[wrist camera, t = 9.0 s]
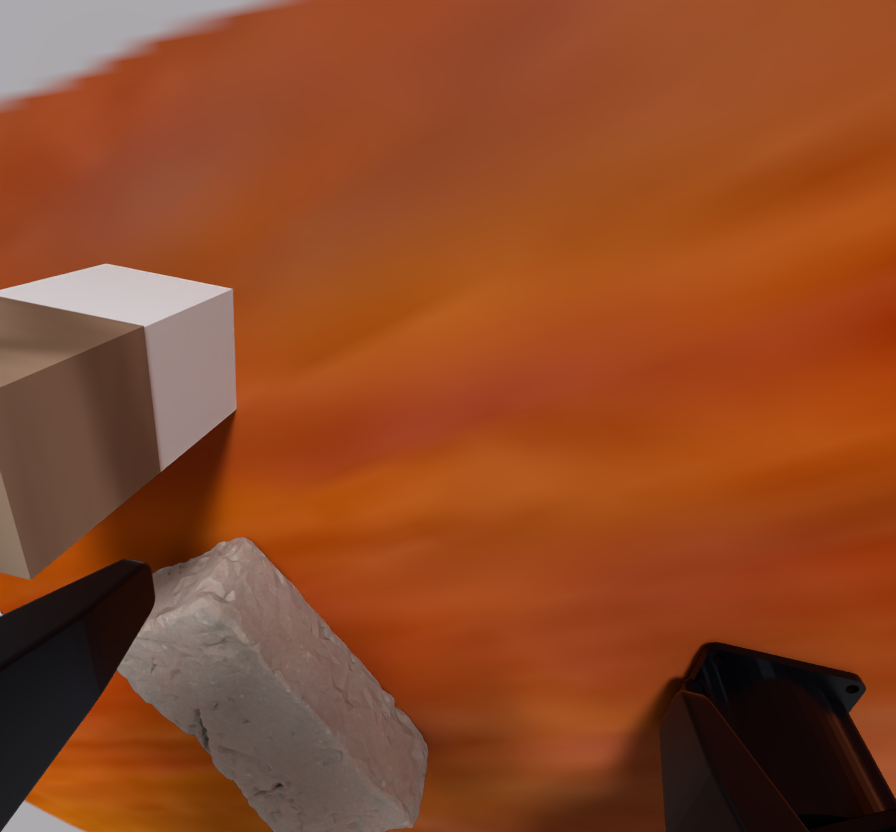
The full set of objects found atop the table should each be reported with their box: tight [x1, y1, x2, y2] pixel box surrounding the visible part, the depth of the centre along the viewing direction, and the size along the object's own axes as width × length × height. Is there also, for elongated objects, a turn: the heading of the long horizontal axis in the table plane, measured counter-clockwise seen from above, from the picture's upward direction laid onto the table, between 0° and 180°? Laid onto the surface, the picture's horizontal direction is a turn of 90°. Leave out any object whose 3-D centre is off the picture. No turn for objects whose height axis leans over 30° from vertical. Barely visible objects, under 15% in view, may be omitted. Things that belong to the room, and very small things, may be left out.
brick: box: [117, 537, 428, 832], centre depth 27 cm, size 17×8×5 cm, turn 32°
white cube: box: [0, 264, 236, 471], centre depth 19 cm, size 5×5×5 cm
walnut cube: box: [0, 297, 161, 580], centre depth 14 cm, size 5×5×5 cm
